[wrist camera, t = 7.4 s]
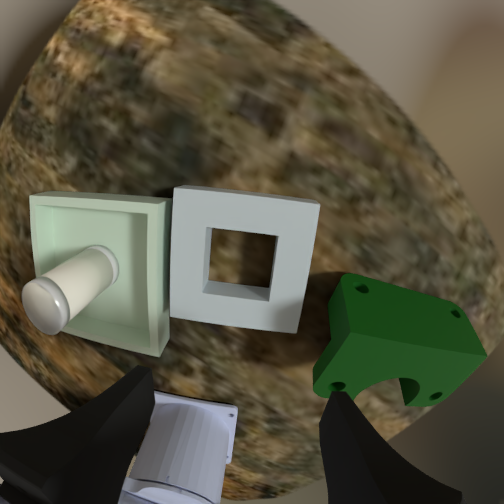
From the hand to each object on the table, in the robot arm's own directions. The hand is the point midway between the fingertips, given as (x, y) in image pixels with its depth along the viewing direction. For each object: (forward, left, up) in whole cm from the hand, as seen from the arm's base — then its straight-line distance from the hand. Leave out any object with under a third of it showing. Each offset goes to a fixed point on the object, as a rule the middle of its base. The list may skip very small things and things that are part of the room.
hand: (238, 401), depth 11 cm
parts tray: (+1, +11, -9) cm, 14 cm away
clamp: (-1, -10, -10) cm, 14 cm away
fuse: (+1, +11, -9) cm, 14 cm away
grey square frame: (+3, +1, -9) cm, 10 cm away
